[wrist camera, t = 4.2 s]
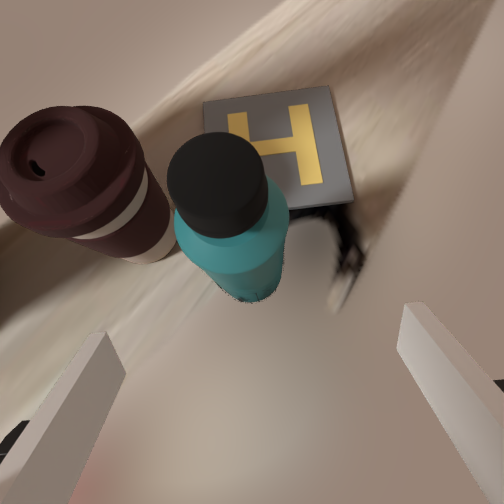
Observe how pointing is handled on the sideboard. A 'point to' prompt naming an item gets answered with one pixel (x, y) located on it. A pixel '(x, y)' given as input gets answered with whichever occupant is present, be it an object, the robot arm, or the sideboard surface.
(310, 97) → the letter board
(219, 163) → the beverage bottle
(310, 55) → the sideboard surface
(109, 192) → the coffee cup
